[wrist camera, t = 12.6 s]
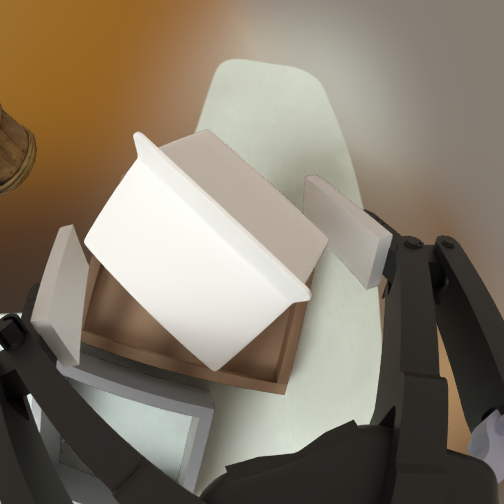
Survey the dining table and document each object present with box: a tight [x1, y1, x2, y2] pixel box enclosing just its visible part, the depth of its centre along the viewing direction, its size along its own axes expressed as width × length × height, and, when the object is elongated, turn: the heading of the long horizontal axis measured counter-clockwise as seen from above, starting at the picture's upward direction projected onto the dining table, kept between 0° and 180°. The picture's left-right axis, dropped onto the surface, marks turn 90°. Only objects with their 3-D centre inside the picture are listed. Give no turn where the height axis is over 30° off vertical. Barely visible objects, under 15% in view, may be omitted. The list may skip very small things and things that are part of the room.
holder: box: [32, 351, 215, 504], centre depth 22 cm, size 15×15×6 cm
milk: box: [84, 129, 329, 371], centre depth 17 cm, size 6×6×22 cm
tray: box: [81, 173, 315, 395], centre depth 28 cm, size 20×16×2 cm
